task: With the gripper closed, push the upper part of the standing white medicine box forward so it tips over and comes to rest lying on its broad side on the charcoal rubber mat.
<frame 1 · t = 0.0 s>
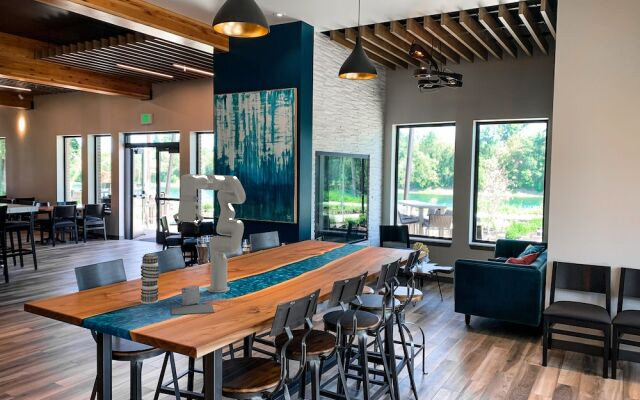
hand: (188, 232, 243), 37 cm above the table, tool pointing down, fingers open, 9 cm apart
medicine box: (191, 304, 245), on the table, touching charcoal mat
decorative candle: (149, 301, 248), on the table
charcoal mat: (192, 309, 236), on the table
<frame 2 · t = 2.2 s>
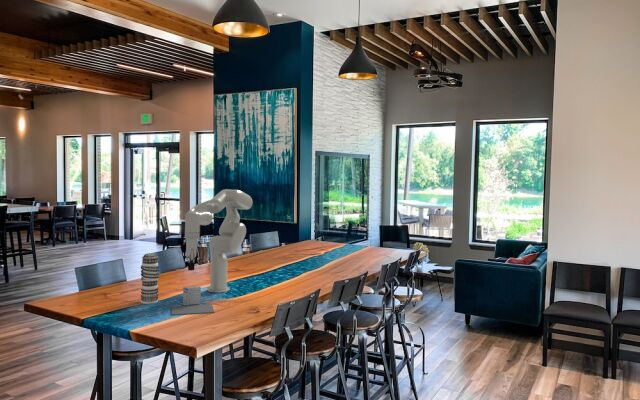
hand: (191, 269, 251), 17 cm above the table, tool pointing down, fingers closed
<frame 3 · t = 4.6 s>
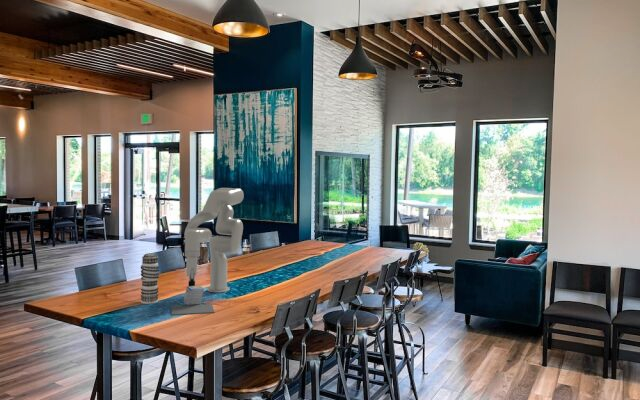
hand: (191, 288, 247), 8 cm above the table, tool pointing down, fingers closed
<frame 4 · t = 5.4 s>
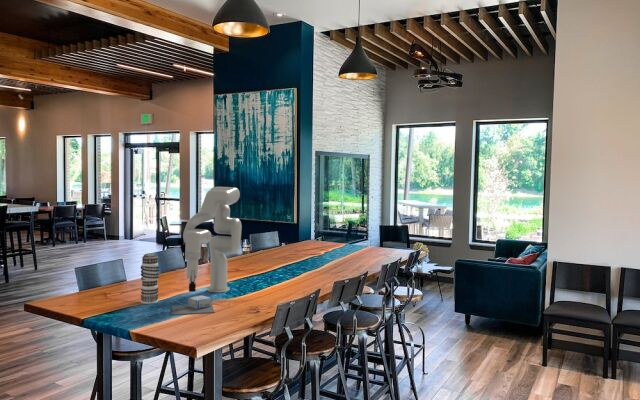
hand: (192, 291, 242), 8 cm above the table, tool pointing down, fingers closed
medicine box: (194, 300, 244), point 3 cm above the table, touching charcoal mat
everything else where it was.
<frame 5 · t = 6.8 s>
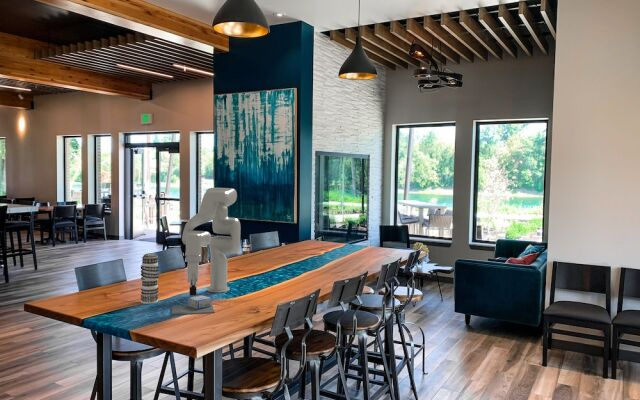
hand: (192, 294, 235), 8 cm above the table, tool pointing down, fingers closed
nothing on the table moved.
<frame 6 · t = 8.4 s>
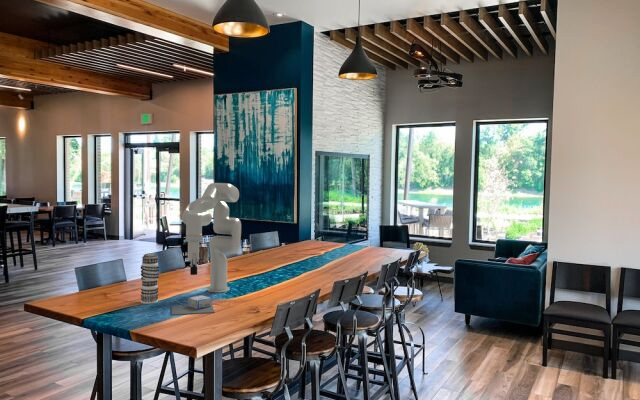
hand: (193, 274, 235), 18 cm above the table, tool pointing down, fingers closed
nothing on the table moved.
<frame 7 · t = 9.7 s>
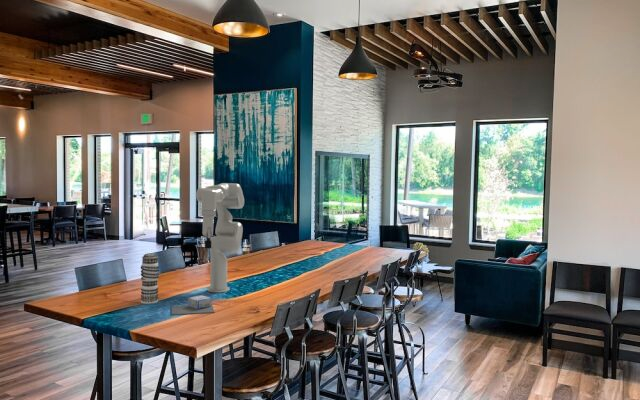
hand: (208, 248, 250), 29 cm above the table, tool pointing down, fingers closed
nothing on the table moved.
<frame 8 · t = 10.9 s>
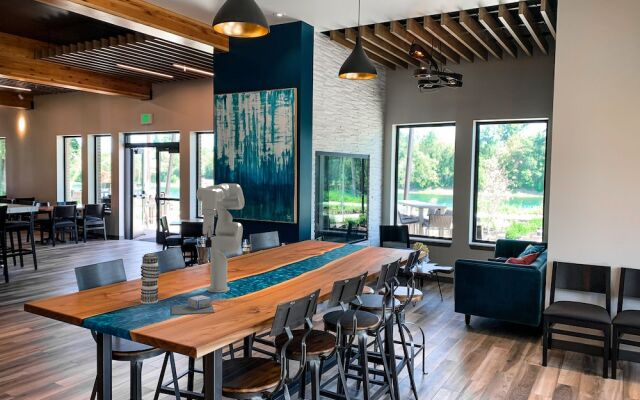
hand: (208, 247, 250), 29 cm above the table, tool pointing down, fingers closed
nothing on the table moved.
at the end: medicine box tilted 89°; medicine box touching charcoal mat; medicine box inside the target area (4.5 cm from its centre), point 2.6 cm above the table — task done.
